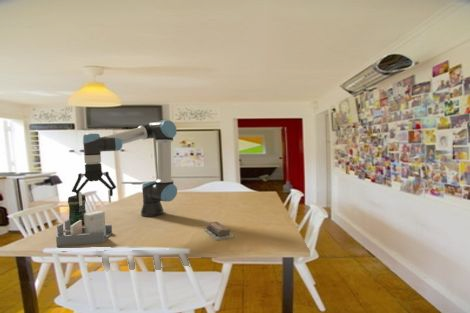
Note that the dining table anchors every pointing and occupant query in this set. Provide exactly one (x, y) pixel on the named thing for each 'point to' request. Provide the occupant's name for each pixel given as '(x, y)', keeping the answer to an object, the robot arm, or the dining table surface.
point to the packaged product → (218, 231)
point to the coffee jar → (76, 209)
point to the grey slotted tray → (80, 236)
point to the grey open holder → (75, 228)
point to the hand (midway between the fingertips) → (95, 203)
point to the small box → (95, 222)
